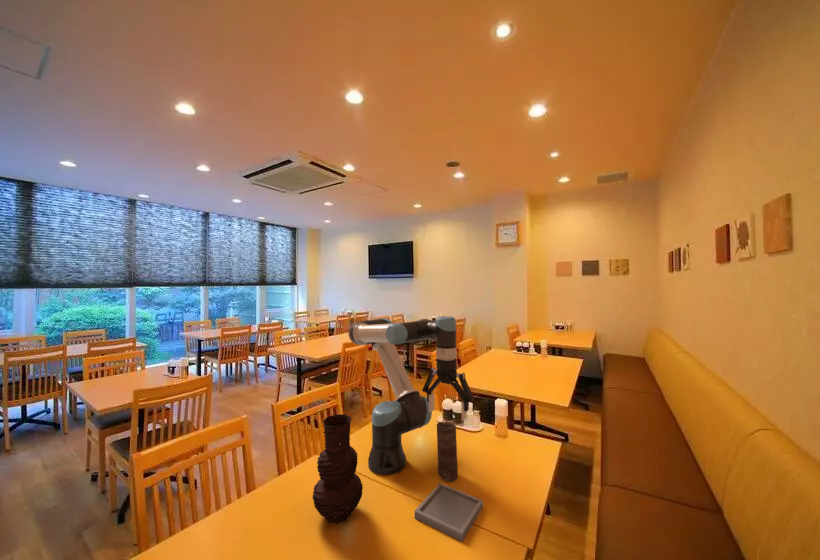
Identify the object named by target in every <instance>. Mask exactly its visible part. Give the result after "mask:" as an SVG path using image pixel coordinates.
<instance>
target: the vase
mask: <svg viewBox="0 0 820 560" xmlns="http://www.w3.org/2000/svg"><path fill="white" fill-rule="evenodd" d="M321 422H322V423H323V425H322V426H323V427H324V428H323V430H324V431H323V434H324V441H325V442H324V445H325V446H324V449H323V451H321V452H319V456H318V457H317V461H316V464H317V467H316V468H317V472H318V476H319V480H317V482H316V483H315V485H313V492H312V496H311V497H312V500H313V507H314V509H316V511H317V513H318V514H319V515H320V516H322V517H323V518H324V519H325V520H326V522H327V523H329V524H332V525H338V524H341V523H345V522H347V520H348V519H349V518H350V517H351V516H352V513H354V511H355V509H357V507H358V505H359V503H360V501H361V500H362V497H363V490H364V489H363V483H362V480H361V478H360V476H359V475H358V474H357V473H356V471H357V466H358V452H357V451H356V450H355V449H354V447H353V446H352V445H351V437H350V435H351V424H352V423H351V422H352V416H351V415H350V416H349V415H347V414H346V413H344V414H336V413H335V414H333V415H330V416H326V417H325V418H324V419H323V420H322V421H321Z"/></svg>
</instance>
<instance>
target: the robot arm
mask: <svg viewBox="0 0 820 560" xmlns="http://www.w3.org/2000/svg"><path fill="white" fill-rule="evenodd" d="M457 330H458V329H457V321H456V318H455V317H454V316H451V315H448V316H447V315H443V316H442V315H441V316H437V317H436V318H435V320H432V319H428V318H420V319H417V320H414V321H407V322H393V321H392V320H391V319H389V318H376V319H366V320H359V321H356V322H355V323H353V324H352V325H351V326H350V327H349V329H348V338H349V339H350V341H351V343H353V344H354V345H358V346H365V345H371V347H372V349H373V350H374V351H376V352H377V353H378V356H379V358H380V361H381V364H382V366H383V368H384V370H385V373H386V376H387V378H388V381H389V383H390V386H391V389H392V391H393V392H394V395H395V400H390V401H388V400H386V401H382V402H380V403H378V404H377V405H375V406H374V408H373V409H372V412H371V413H372V414H371V415H372V416H371V430H372V431H371V434H372V435H371V437H372V440H371V442H372V444H371V448H370V452H369V456H368V458H367V459H368V460H367V466H368V469H369V470H370V471H371V472H372V473H374V474H377V475H380V476H391V475H395V474H398V473H400V472H401V471H403V470H404V469H405V468H406V465H407V457H406V453H405V451H404V447H403V443H402V435H404V434H407V433H409V432H412V431H414V430H417V429H421V428H422V427H424V426H427V425H428V424H429V423H430V422H431V419H432V415H433V411H435V394H434V390H435V389H436V388H437V387H438V386H439V385H440V383H441V384H446V385H451V387H453V388H454V389H455V392H456V393H457V395H458V396H459V398H461V400H462V401H461V404H460V405H461V421H463V422H465V420H466V419H467V418H468V417H467V414H468V411H469V410H470V407H469V405H470V403H471V402H472V401H473V400H475V397H474V395H473V393H472V391H471V388H470V385H469V383H468V382H467V379H466V373H464V372H461V373H458V372H457V370H458V366H457V363H458V360H457V356H458V355H457V353H458V351H457ZM424 340H432V341H435V342H436V343H435V344H436V345H435V346H436V347H435V348H436V352H435V353H436V367H433V368H430V369H429V371H428V376H427V378H426V381H425V383H424V385H423V387H422V390H421V391H422V392H423V393H426V396H423V395H421V393H420V391H419V390H417V389H415V388H414V386H413V384H412V382H411V380H410V378H409V376H408V373H407V371H406V368H405V366H404V364H403V362H402V360H401V359H402V358H401V357H400V354H399V353H398V350H397V348H396V345H402V344H405V343H412V342H418V341H424ZM435 375H436V376H437V378H436V380H435V381H434V382H433V380H434V378H435ZM457 378H458V379H457ZM432 382H433V384H432V385H431V383H432Z"/></svg>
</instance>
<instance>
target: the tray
mask: <svg viewBox="0 0 820 560" xmlns="http://www.w3.org/2000/svg"><path fill="white" fill-rule="evenodd" d="M483 508H484V499H481V498H478V497H476V496H473V495H470V494H468V493H466V492H463V491H462V490H458V489H457V488H453V487H451V486H449V485H446V484H443V483H441V482H438V484H437V485H436V486H435V487H434V489H432V490H431V492H430V493H429V494H428V495H427V496H426V498H424V500H423V501H422V502H420V504H419V505H418V506H417V507H416V508H415V510H414V519H416V520H417V521H419V522H422V523H424V524H425V525H428V526H429V527H432V528H434V529H435V530H438V531H439V532H442V533H444V534H446V535H448V536H449V537H452V538H454V539H456V540H458V541H460V542H463V541H464V540H465V538H466V536H467V535H468V533H469V531H470V529H471V528H472V526H473V525H474V523H475V522H476V520H477V519H478V517H479V515H480V513H481V512H482V511H483Z"/></svg>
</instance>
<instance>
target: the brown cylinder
mask: <svg viewBox="0 0 820 560" xmlns="http://www.w3.org/2000/svg"><path fill="white" fill-rule="evenodd" d="M456 426H457V425H456V423H455V422H453V421H452V420H450V421H439V422H437V424H436V441H437V442H436V443H437V444H436V445H437V473H438V476H439V478H441V479H442V480H443V481H446V482H449V483H453V482H455V481H456V480H458V478H459V477H458V476H459V471H458V469H459V468H458V467H459V466H458V452H457V449H458V448H457V446H458V445H457V442H458V441H457V427H456Z"/></svg>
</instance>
